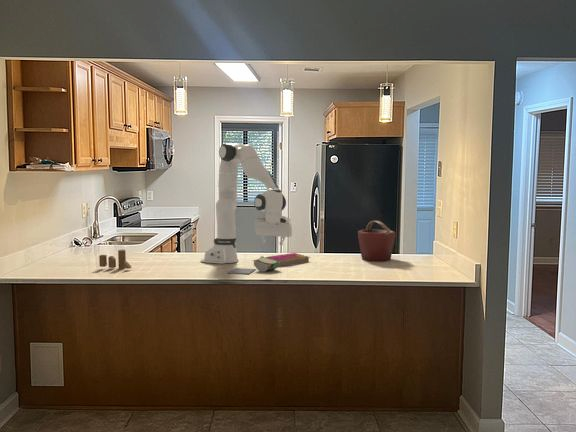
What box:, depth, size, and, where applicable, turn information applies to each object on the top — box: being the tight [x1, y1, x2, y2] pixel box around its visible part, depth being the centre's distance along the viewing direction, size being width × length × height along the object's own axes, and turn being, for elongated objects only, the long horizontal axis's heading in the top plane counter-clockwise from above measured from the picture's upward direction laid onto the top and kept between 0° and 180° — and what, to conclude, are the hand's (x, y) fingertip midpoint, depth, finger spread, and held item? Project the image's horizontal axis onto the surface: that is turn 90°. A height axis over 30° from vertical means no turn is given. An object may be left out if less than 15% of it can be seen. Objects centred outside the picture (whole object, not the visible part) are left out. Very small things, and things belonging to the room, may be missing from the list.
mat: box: [227, 267, 257, 276], centre depth 300 cm, size 12×14×1 cm
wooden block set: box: [98, 249, 132, 270], centre depth 304 cm, size 18×9×10 cm, turn 84°
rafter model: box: [251, 252, 311, 268], centre depth 326 cm, size 35×14×6 cm, turn 135°
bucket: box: [357, 220, 396, 263], centre depth 339 cm, size 24×22×25 cm
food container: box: [253, 255, 280, 273], centre depth 304 cm, size 12×6×10 cm
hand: (272, 244), depth 295 cm, fingers open, 8 cm apart
